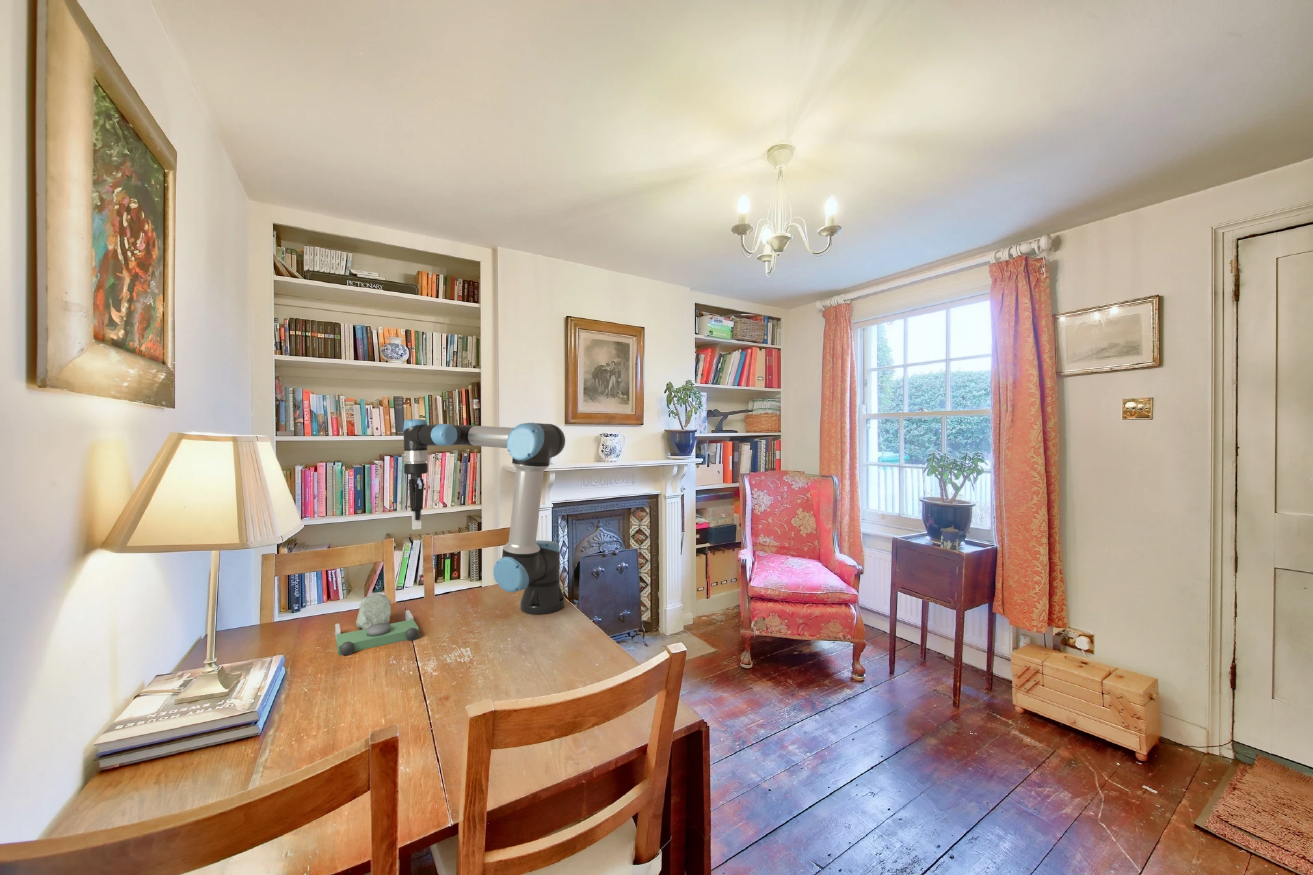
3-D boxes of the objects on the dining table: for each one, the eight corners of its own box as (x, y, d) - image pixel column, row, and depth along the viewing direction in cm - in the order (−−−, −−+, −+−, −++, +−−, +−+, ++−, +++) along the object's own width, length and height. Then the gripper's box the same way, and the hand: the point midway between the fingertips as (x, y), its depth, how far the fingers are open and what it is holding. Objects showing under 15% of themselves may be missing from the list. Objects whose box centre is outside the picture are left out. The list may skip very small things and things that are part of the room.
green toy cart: (408, 618, 155) (408, 606, 155) (419, 638, 140) (419, 624, 140) (335, 633, 143) (335, 620, 143) (338, 657, 128) (338, 642, 128)
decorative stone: (361, 619, 154) (347, 602, 148) (396, 603, 158) (384, 585, 152) (364, 652, 145) (350, 634, 139) (402, 633, 149) (389, 616, 143)
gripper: (400, 462, 171) (401, 527, 171) (408, 463, 161) (409, 532, 161) (423, 461, 176) (423, 525, 176) (431, 462, 166) (432, 530, 165)
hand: (416, 528), depth 168 cm, fingers closed
